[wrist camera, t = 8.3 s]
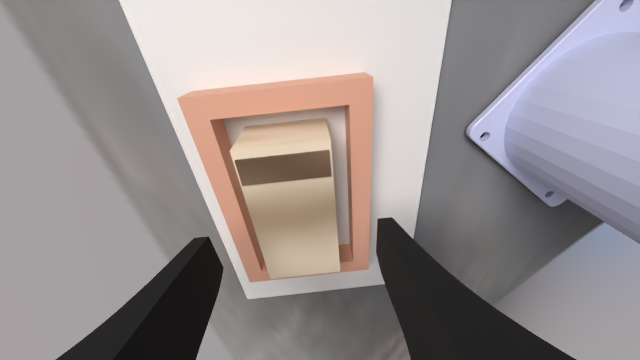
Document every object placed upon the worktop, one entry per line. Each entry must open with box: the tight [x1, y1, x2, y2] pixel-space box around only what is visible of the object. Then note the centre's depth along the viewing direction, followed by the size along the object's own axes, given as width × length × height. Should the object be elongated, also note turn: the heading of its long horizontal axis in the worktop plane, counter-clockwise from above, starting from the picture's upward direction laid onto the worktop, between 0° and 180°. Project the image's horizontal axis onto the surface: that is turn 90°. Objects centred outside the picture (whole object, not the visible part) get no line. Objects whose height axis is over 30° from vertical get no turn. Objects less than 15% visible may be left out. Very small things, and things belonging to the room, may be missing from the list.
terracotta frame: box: [177, 72, 373, 282], centre depth 13 cm, size 12×8×2 cm, turn 5°
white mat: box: [119, 0, 451, 299], centre depth 13 cm, size 13×26×1 cm, turn 5°
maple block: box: [230, 117, 340, 279], centre depth 13 cm, size 8×4×3 cm, turn 5°
